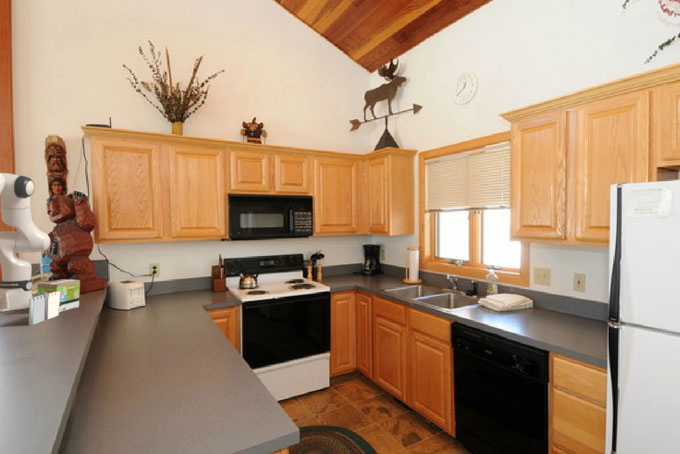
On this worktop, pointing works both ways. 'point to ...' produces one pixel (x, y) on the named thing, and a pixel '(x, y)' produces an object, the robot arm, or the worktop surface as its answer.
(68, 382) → the worktop surface
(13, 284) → the robot arm
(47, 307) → the white fence panel
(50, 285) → the tea box
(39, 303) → the blue-grey fence panel
